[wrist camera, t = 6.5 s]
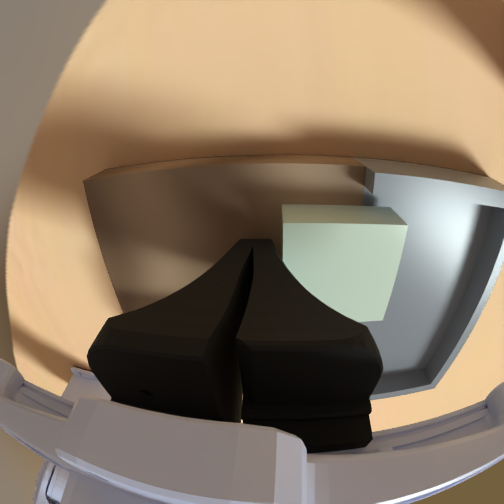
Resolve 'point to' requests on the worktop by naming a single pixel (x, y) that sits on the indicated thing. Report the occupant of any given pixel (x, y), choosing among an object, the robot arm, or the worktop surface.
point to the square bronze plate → (203, 213)
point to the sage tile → (344, 255)
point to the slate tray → (434, 267)
